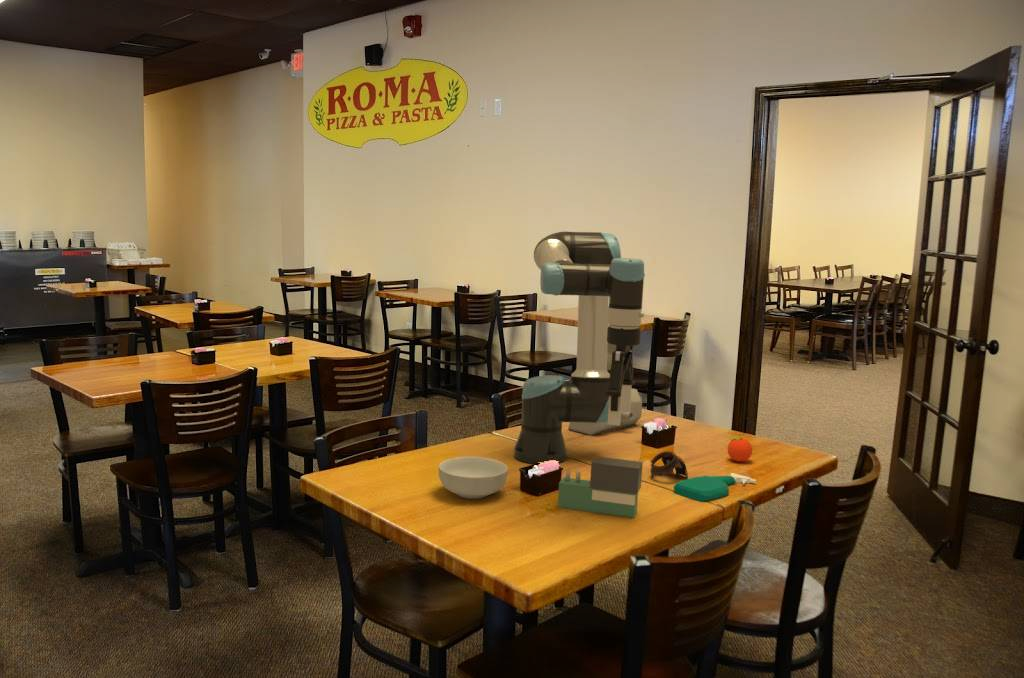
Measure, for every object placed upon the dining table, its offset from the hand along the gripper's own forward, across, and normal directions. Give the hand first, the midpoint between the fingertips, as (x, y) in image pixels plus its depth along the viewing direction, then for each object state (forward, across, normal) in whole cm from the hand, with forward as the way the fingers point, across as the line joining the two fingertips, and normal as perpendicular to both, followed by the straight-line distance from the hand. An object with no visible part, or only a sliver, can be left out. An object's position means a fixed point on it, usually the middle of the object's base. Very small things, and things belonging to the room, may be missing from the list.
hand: (619, 418), depth 185 cm
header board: (+22, 0, +4) cm, 23 cm away
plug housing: (+16, 0, 0) cm, 17 cm away
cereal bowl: (+23, -1, +35) cm, 42 cm away
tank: (+23, +77, +15) cm, 82 cm away
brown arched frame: (+23, +32, -9) cm, 41 cm away
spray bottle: (+23, +28, -22) cm, 42 cm away
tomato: (+23, +56, -26) cm, 66 cm away
